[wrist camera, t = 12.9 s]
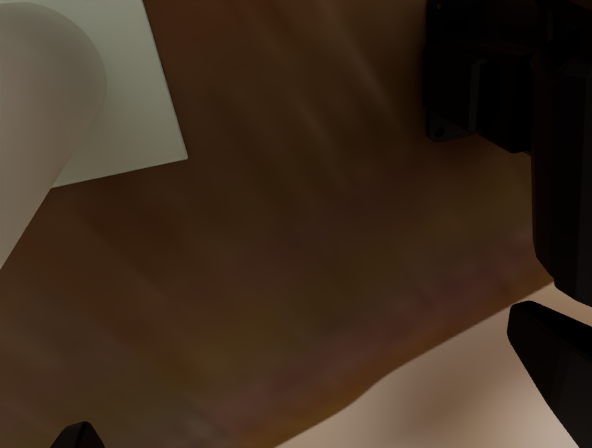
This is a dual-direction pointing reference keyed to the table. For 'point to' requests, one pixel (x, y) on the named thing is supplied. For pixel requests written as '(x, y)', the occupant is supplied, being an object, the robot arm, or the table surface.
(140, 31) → the mat
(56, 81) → the plug
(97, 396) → the table surface
